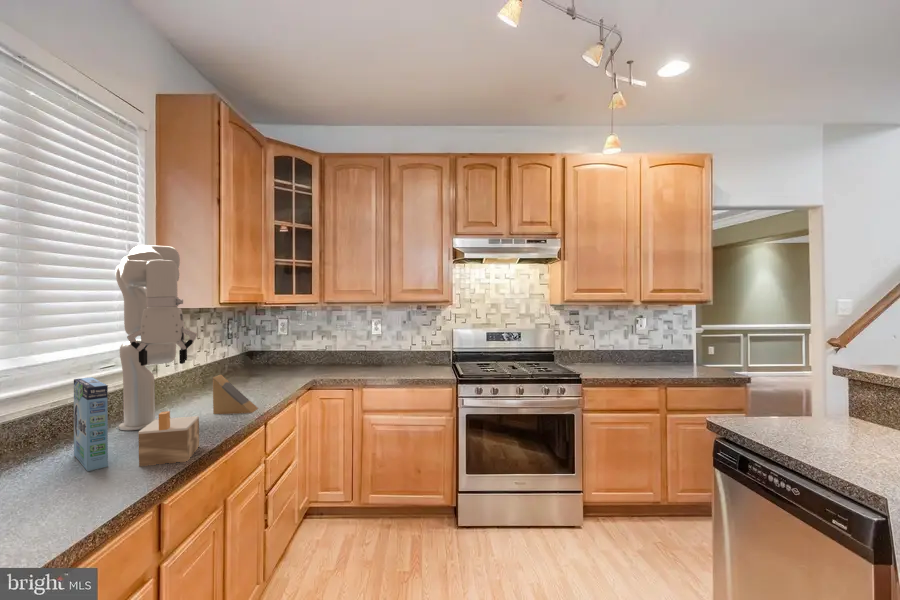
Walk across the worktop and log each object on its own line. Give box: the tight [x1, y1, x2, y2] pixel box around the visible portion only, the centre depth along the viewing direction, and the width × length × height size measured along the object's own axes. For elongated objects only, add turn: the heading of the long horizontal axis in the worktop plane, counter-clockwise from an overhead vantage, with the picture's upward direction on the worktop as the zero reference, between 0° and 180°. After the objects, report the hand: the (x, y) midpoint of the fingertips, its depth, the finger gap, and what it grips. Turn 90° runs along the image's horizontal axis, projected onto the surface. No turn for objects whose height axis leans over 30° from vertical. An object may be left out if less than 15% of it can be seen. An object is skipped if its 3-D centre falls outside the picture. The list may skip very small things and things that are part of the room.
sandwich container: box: [212, 374, 259, 415], centre depth 192 cm, size 9×15×15 cm, turn 96°
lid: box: [138, 410, 200, 434], centre depth 138 cm, size 14×12×5 cm
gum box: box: [73, 376, 109, 473], centre depth 134 cm, size 20×5×23 cm, turn 47°
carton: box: [137, 417, 200, 467], centre depth 138 cm, size 14×12×9 cm
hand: (163, 364), depth 132 cm, fingers open, 9 cm apart
